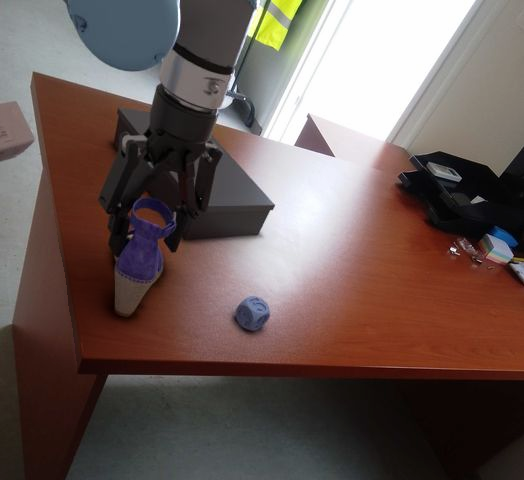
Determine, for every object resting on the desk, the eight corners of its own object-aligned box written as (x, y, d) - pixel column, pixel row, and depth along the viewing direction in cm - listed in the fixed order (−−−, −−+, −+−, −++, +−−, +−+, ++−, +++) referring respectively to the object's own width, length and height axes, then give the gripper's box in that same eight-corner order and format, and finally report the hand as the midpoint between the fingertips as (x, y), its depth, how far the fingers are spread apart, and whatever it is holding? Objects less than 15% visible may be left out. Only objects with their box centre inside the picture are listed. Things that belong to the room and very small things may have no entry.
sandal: (172, 251, 78) (199, 174, 68) (139, 327, 64) (167, 243, 54) (126, 232, 76) (147, 150, 67) (81, 305, 62) (99, 215, 52)
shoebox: (111, 143, 93) (117, 107, 88) (187, 149, 105) (196, 118, 100) (184, 241, 82) (197, 206, 77) (260, 235, 94) (275, 205, 89)
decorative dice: (248, 310, 76) (258, 293, 74) (264, 327, 75) (274, 310, 73) (232, 316, 74) (241, 298, 71) (247, 333, 73) (257, 316, 70)
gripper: (118, 100, 44) (83, 273, 59) (273, 124, 58) (213, 259, 73) (86, 60, 47) (60, 235, 62) (241, 92, 61) (190, 229, 76)
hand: (143, 248), depth 67 cm, fingers open, 8 cm apart
